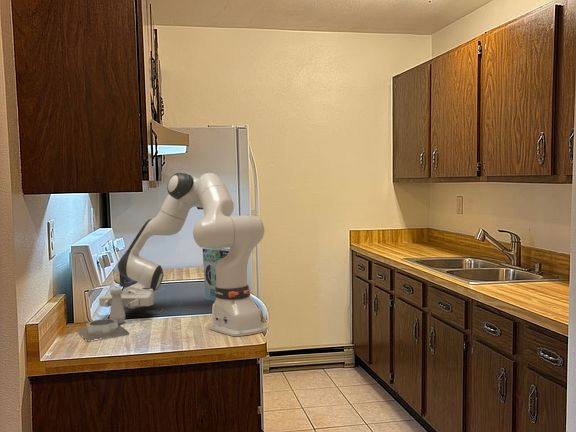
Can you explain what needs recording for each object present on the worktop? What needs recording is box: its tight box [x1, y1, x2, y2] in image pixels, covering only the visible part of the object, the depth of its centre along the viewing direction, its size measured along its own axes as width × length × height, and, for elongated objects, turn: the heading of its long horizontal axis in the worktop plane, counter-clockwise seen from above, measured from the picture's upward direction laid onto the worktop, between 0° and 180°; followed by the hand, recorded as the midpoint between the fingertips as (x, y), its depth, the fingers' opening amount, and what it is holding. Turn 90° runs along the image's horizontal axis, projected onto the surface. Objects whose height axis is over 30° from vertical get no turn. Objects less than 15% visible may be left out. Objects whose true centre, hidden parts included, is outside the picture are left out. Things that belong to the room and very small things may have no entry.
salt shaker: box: [108, 287, 126, 325], centre depth 207 cm, size 6×6×13 cm
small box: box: [119, 273, 138, 288], centre depth 285 cm, size 11×6×10 cm, turn 123°
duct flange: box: [76, 318, 130, 341], centre depth 194 cm, size 16×14×4 cm
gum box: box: [201, 247, 230, 302], centre depth 237 cm, size 20×5×23 cm, turn 43°
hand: (117, 304), depth 207 cm, fingers open, 8 cm apart
